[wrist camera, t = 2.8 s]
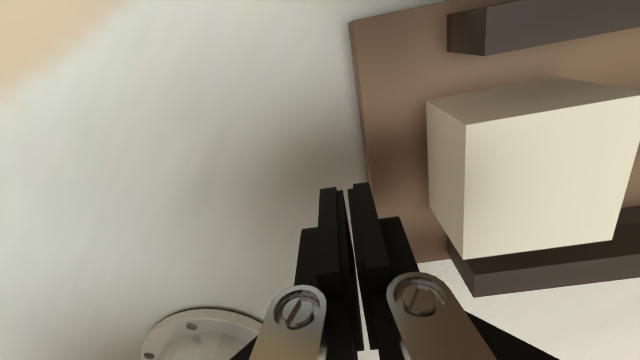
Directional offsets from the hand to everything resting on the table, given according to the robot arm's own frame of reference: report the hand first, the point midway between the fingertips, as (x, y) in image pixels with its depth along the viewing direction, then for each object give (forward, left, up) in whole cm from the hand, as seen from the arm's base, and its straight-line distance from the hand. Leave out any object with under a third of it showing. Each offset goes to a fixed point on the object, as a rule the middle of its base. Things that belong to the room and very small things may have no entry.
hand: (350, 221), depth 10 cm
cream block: (-1, -7, -6) cm, 9 cm away
